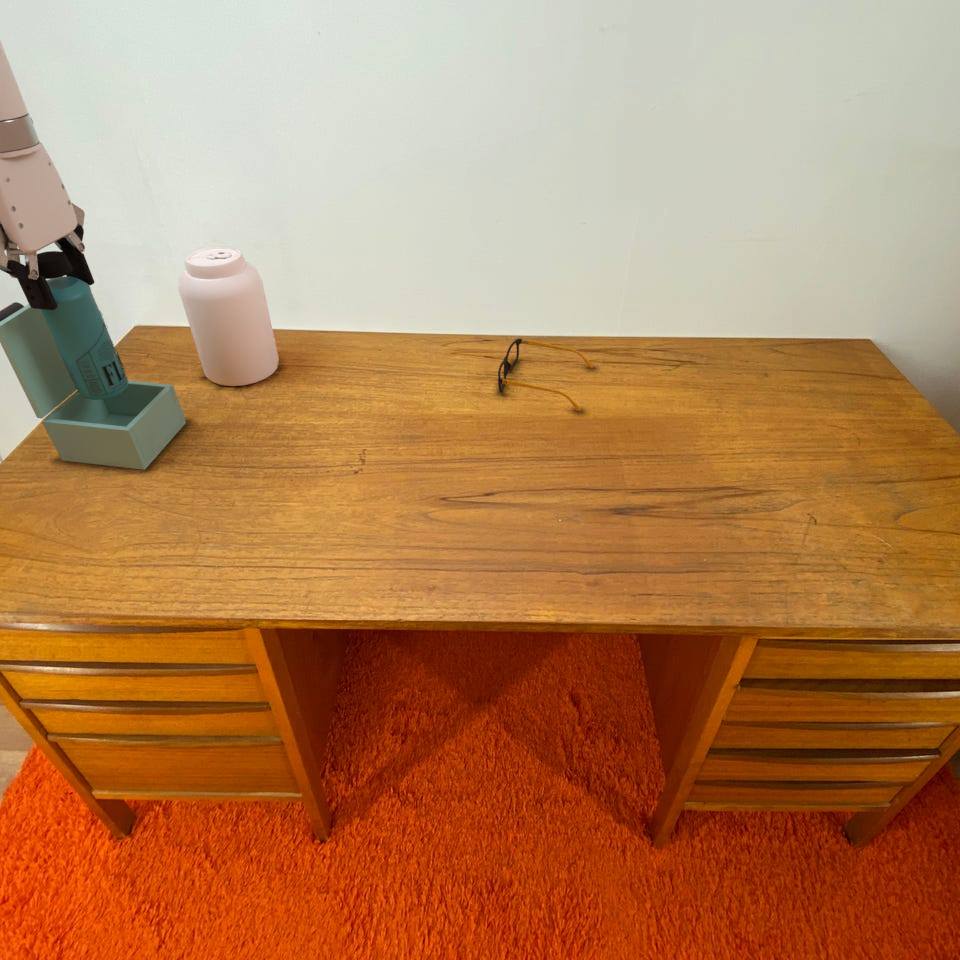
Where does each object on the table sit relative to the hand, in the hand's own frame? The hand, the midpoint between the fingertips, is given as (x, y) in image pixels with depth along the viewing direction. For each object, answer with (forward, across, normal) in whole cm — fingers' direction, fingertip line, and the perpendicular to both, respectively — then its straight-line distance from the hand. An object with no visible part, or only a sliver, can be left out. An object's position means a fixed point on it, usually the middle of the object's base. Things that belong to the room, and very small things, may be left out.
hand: (63, 294), depth 79 cm
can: (+23, -22, +8) cm, 33 cm away
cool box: (+23, 0, 0) cm, 23 cm away
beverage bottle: (+15, 0, 0) cm, 15 cm away
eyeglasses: (+23, -27, +60) cm, 69 cm away
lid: (+9, 0, -6) cm, 10 cm away
